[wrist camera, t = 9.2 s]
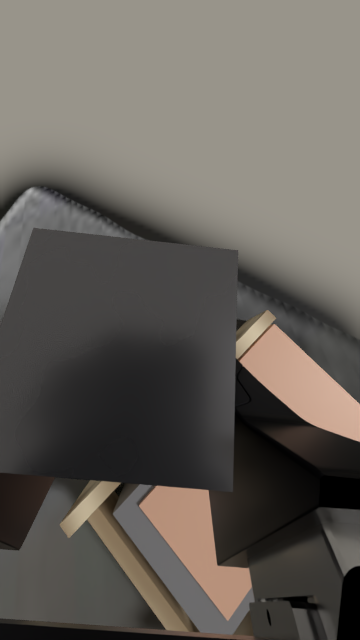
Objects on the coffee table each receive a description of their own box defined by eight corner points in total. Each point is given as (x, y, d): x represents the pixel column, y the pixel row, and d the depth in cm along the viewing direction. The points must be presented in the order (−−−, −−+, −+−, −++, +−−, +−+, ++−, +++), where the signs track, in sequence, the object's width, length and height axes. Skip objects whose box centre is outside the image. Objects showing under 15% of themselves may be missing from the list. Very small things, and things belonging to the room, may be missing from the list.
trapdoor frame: (202, 630, 16) (215, 750, 11) (90, 480, 19) (59, 524, 14) (351, 421, 21) (408, 441, 16) (246, 320, 23) (267, 309, 18)
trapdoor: (216, 603, 16) (230, 683, 12) (117, 476, 18) (102, 509, 14) (349, 418, 20) (392, 433, 16) (257, 329, 22) (275, 323, 18)
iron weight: (198, 403, 15) (346, 642, 2) (115, 395, 15) (-226, 604, 2) (203, 322, 16) (307, 197, 4) (129, 315, 16) (-19, 159, 4)
